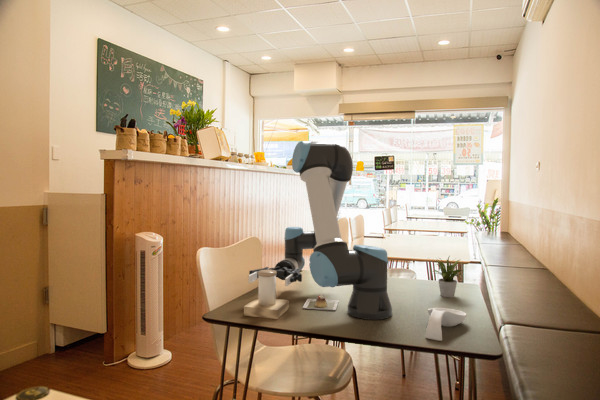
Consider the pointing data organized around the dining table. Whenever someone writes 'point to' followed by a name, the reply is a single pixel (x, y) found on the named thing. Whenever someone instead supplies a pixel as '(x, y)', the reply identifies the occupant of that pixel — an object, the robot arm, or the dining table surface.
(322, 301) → the dessert
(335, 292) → the dining table surface
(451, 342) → the dining table surface
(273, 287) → the canister
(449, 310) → the spoon rest
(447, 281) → the house plant
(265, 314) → the base
